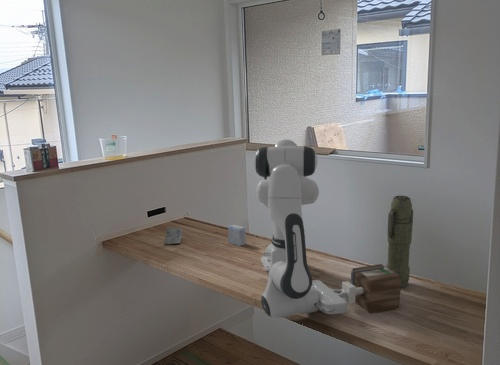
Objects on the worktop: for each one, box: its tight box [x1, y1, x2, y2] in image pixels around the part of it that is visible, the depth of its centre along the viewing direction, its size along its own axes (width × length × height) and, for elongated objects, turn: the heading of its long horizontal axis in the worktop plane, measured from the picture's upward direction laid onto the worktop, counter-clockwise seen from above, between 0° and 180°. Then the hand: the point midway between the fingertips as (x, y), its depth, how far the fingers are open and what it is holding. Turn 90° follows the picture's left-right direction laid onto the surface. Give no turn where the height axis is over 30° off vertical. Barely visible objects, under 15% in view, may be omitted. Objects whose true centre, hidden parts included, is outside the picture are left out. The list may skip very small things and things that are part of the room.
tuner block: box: [352, 263, 402, 315], centre depth 170 cm, size 12×12×12 cm
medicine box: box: [227, 224, 247, 247], centre depth 236 cm, size 8×4×9 cm, turn 49°
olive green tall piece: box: [385, 195, 414, 290], centre depth 185 cm, size 9×12×35 cm
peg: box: [341, 267, 384, 305], centre depth 169 cm, size 5×16×10 cm, turn 109°
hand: (344, 293), depth 166 cm, fingers closed
